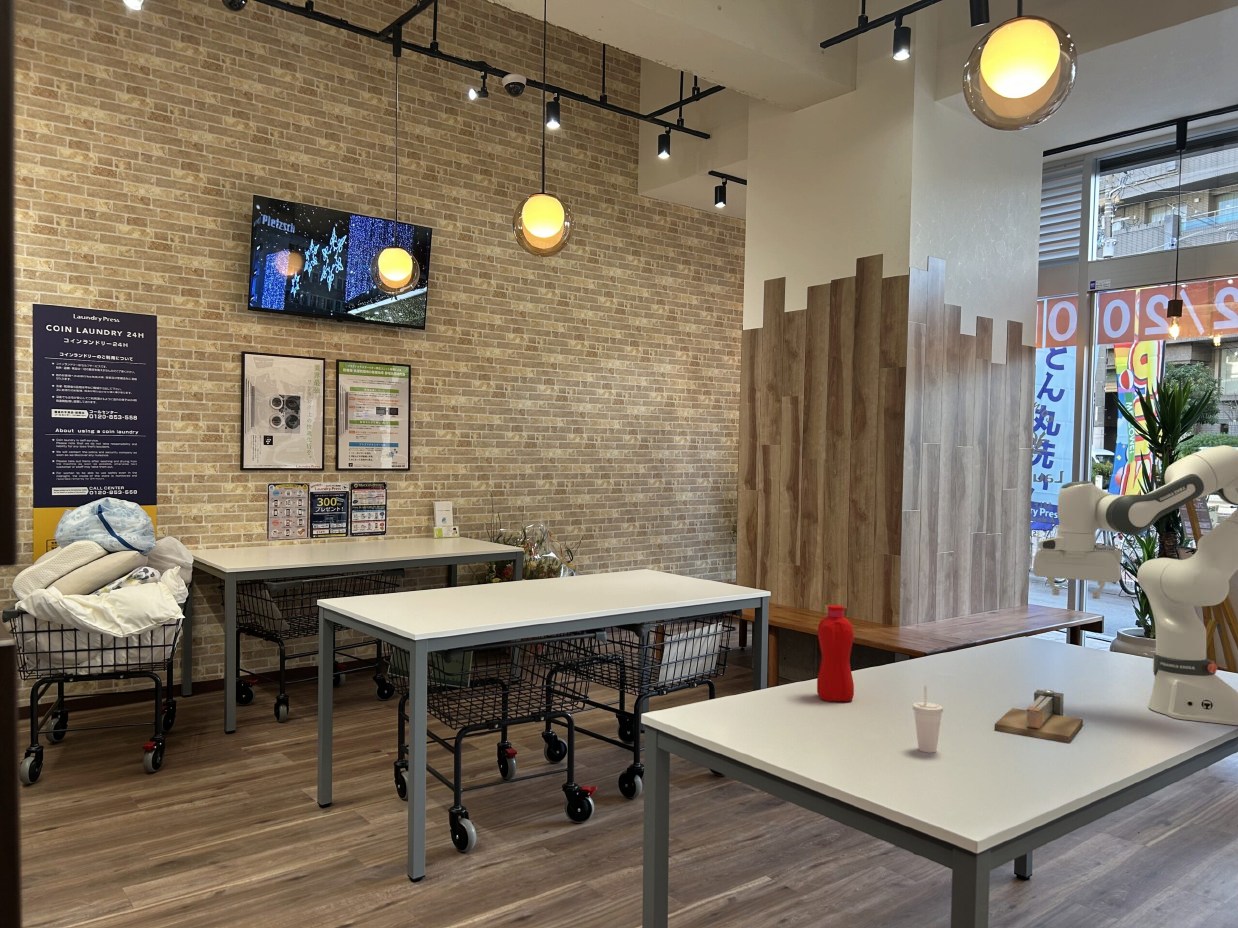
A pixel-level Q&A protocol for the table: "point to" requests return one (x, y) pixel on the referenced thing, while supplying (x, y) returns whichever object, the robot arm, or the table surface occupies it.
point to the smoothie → (927, 723)
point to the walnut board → (1050, 729)
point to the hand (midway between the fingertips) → (1075, 596)
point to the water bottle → (835, 656)
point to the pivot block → (1057, 700)
